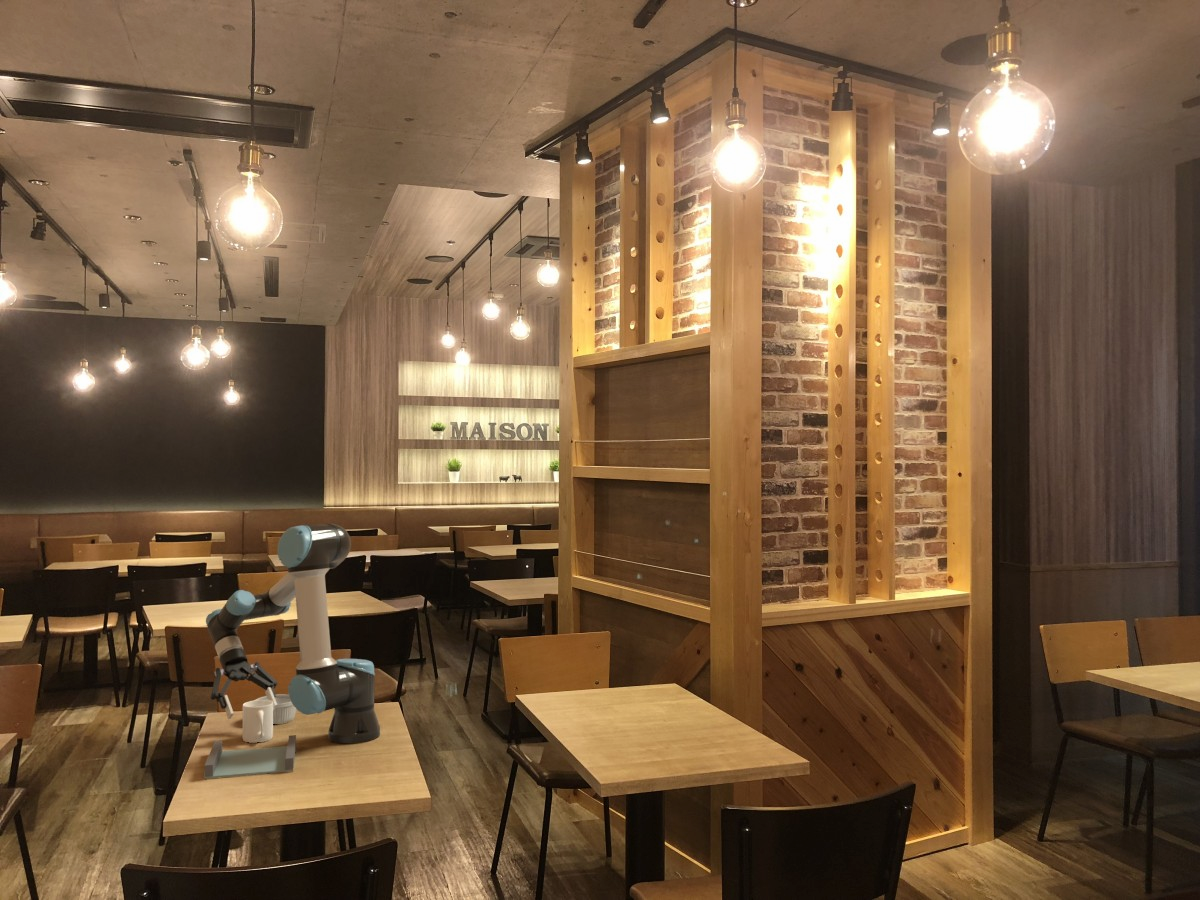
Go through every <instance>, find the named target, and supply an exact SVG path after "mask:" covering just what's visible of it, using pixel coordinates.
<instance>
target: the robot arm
mask: <svg viewBox="0 0 1200 900" xmlns="http://www.w3.org/2000/svg"><path fill="white" fill-rule="evenodd" d="M351 548H352V539H351V536H350V534H349V533H348V531H347V530H346V529H345V527H342V526H341V525H338V524H335V523H323V524H303V525H302V524H301V525H296V526H291V527H289V528H288V529H286V530H285V531H284V532H283V533H282V535H280V538H279V540H278V543H277V557H278V559H279V561H281V562H280V563H281V564H282V565H283V566H285V567H286V568H287V573H286V574H285V575H284V576H282V578H281V579H279V581H277V582H276V583H275V584H274V585H273V586H272V587H271V588H269V589H268V590H267V591H266V592H263V593H257V594H252V592H250V591H247V590H244V589H239V590H236V591H235V592H234V593H232V595H230V597H229V598H228V599H227V601H226V603H225V604H224V605H223V607H222V608H219V609H216V610H213V611H212V612H211V613H208V615H206V618H205V624H206V628H207V632H208V634H209V636H210V638H211V641H212V644H213V646H214V650H215V652H216V654H217V657H218V659H219V662H220V665H221V668H220V667H216V668H215V670H214V672H213V678H214V680H213V685H212V690H211V695H210V699H211V700H212V701H213V700H216V702H218V703H219V704H220V708H221V709H223V710H224V711H225V713H226V716H227V718H228V720H230V719H232V717H233V715H234V714H235V712H234V710H233V708H232V705H231V702H230V699H229V696H228V695H227V694H226V693H227V690H228V688H229V686H230V684H231V683H232V682H234V683H235V682H239V681H245V680H247V681H248V682H252V683H254V684H255V685H257V686H258V687H260V688H261V689H263V690H265V692H264V693H265V696H267V699H268V700H270V701H273V710H275V708H276V706H277V702H276V700H275V697H276V695H277V694H276V691H275V689H276V688H277V685H278V683H279V682H278V681H277V679H275V678H274V676H272V675H271V674H270V672H269V673H268V671H266V669H264V668H263V667H262V665H261V663H260V662H259V661H256V662H255V663H253V664H250V663H249V662H248V661H249V660H248V657H247V655H246V652H245V650H244V647H243V645H242V641H241V640H240V637H239V635H238V634H239V633H238V631H237V630H238V629H239V628H240V626H241V625H242V623H243V622H244V621H247V620H253V619H259V618H260V619H261V618H266V617H273V616H274V617H275V616H279V615H282V614H286V613H287V612H288V611H289V610H290V607H291V605H292V601H293V600H294V599H295V605H296V615H297V616H296V619H297V629H298V630H297V631H298V633H297V634H298V641H299V642H298V643H299V655H300V657H299V658H300V661H299V663H298V664H297V665H296V667H295V675H294V677H292V678H291V680H290V681H289V682H290V683H289V684H288V695H289V697H290V700H291V702H292V704H293V706H294V707H296V711H297V712H299V713H301V714H303V715H315V714H321V713H323V712H325V711H329V710H333V709H334V713H333V716H332V719H331V722H330V725H329V728H328V732H327V733H328V736H327V737H328V740H329V741H331V742H332V743H338V744H357V743H359V742H360V743H363V742H365V741H366V742H370V741H373V740H375V739H377V738H379V737H380V735H381V727H380V726H381V725H380V723H379V720H378V717H377V713H376V712H375V676H376V673H375V665H374V663H373V661H371V660H368V659H361V658H359V659H358V658H339V659H335V658H333V657H332V650H331V649H332V647H331V636H330V624H329V613H328V610H329V609H328V598H327V588H326V574H327V573H328V572H329V570H330V569H335V568H337V567H338V566H339V565H340V564H341V563H342V562H344V561H345V560H346V558H347V557H348V555H349V554H350V553H351V552H350V551H351ZM223 675H224V676H225V677H227V680H226V681H225V683H224V685H223V687H222V688H221V690H220V692H219V689H220V688H219V687H220V682H221V678H222V676H223ZM369 740H370V741H369Z"/></svg>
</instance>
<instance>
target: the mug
mask: <svg viewBox="0 0 1200 900" xmlns="http://www.w3.org/2000/svg"><path fill="white" fill-rule="evenodd" d="M241 731H242V733H241V734H242V735H241V736H242V740H243V742H244V741H245V743H247V742H249V743H248V744H258V743H257V742H261V743H265V742H268V741H270V740H271V739H272V738H273V736H274V725H273V701H270V700H256V699H254V700H250V701H246V702H244V703H243V704H242V730H241ZM267 740H268V741H267ZM264 741H265V742H264Z"/></svg>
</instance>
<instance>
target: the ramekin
mask: <svg viewBox="0 0 1200 900" xmlns="http://www.w3.org/2000/svg"><path fill="white" fill-rule="evenodd" d="M255 700H268V699H267V696H266V695H265V696H261V697H258V698H256V699H255ZM275 700H276V702H277V706H276V708H275V710H273V724H280V725H283V724H282V723H285V724H287V723H286V722H288V723H290V722H289V721H291V720H292V721H293V720H294V719H295V717H296V712H297V709H296V707H294V706H293V704H292V702H291V700H290V697H289V694H286V693H285V694H281V693H279V694H276V697H275ZM292 721H291V722H292Z"/></svg>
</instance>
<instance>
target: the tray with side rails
mask: <svg viewBox="0 0 1200 900" xmlns="http://www.w3.org/2000/svg"><path fill="white" fill-rule="evenodd" d="M287 740H288V741H287V746H286V745H284V746H273V747H261V748H248V749H247V748H246V749H235V750H233V749H232V750H223V740H217V741H216V740H215V741H214V742H213V745H212V747H211V750H210V752H209V753H208V757H207V759H206V762H205V764H204V780H211V779H210V778H214V779H220V778H219V777H225V778H232V777H231V776H237V777H246V776H245V775H248V776H257V775H256V774H260V775H268V774H267V773H271V774H279V773H278V772H283V773H288V772H287V771H293V772H294V769H293V768H295V761H294V760H296V753H295V752H296V751H297V735H296V734H293V735H292V734H291V735H288V739H287Z"/></svg>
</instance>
